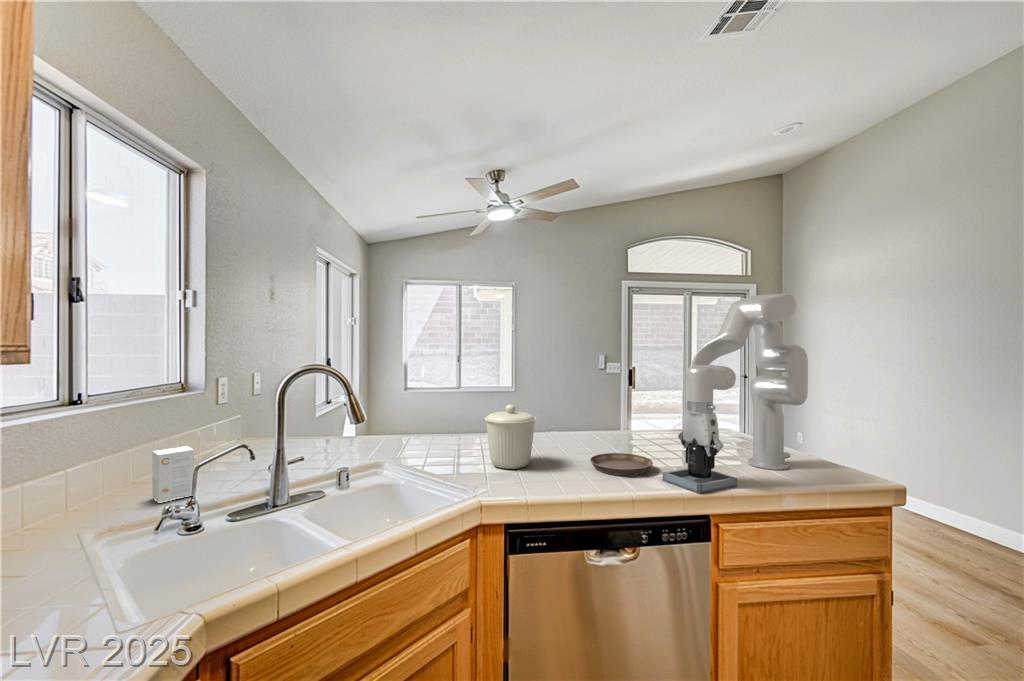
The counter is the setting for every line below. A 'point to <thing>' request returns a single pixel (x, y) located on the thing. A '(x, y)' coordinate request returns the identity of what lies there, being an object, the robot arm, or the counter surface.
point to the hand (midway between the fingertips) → (699, 465)
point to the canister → (510, 437)
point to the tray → (699, 481)
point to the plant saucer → (621, 463)
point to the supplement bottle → (697, 461)
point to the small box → (172, 473)
